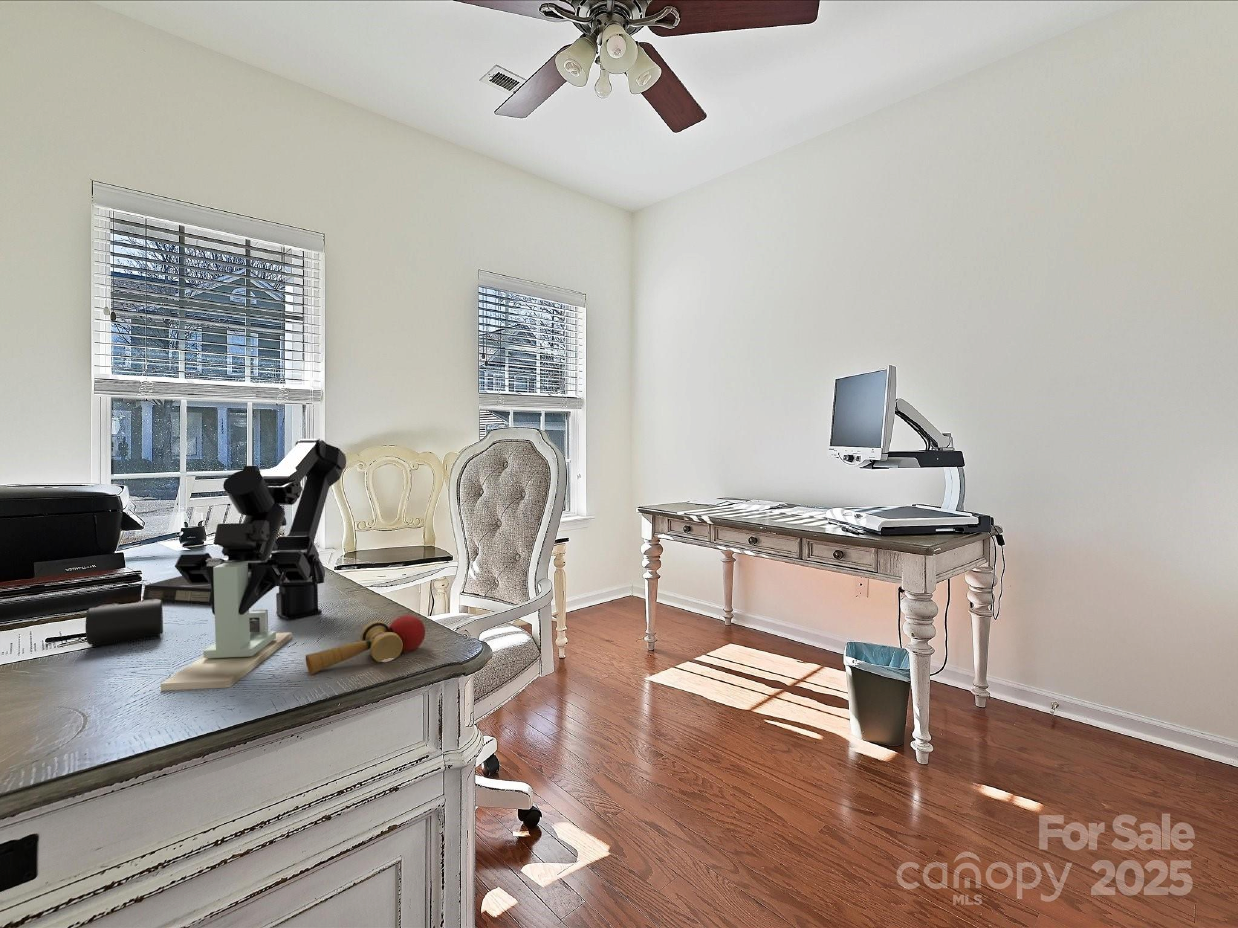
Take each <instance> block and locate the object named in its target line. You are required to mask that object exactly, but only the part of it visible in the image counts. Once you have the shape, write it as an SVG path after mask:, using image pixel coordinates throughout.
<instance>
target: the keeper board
mask: <svg viewBox="0 0 1238 928" xmlns="http://www.w3.org/2000/svg"><path fill="white" fill-rule="evenodd" d="M268 610H269V609H253V610H249V612H257V611H267V623H268V624H269V618H268V617H269V614H268ZM249 626H250V632H260V620H259V617H256V618H249ZM292 637H293V636H292V632H291V631H290V632H276V638H275V639H274V640H273V641H271V642H270V643H269V644H267V645H266V646H265V647H263V648H262V649H261V650H259V651H258V652H257V653H255V654H254V655H253V656H245V657H222V658H204V655H202V656H201V657H200V658H198V659H197V660H195V661H193V662H192V663H190V664H189V665H187V666H186V667H184V668H183V669H181V670H180V671H178V672H177V673H175V674H174V675H172V676H170V677H169V678H167V679H166V680H164V681H163V682H161V683H160V691H161V692H162V691H163V692H164V691H165V692H166V691H180V690H181V691H182V690H202V689H203V690H204V689H205V690H206V689H223V688H224V689H225V688H231V687H232V686H233V685H235V684H236V683H238V681H240V680H241V679H242V678H244V677H245V676H246V675H247V674H248V673H250V672H252V670H254V669H255V668H256V667H257V666H258V665H259V664H261V663H262V662H263V661H265V660H266V659H267V658H268V657H269V656H271V655H272V654H273V653H275V652H276V651H277V650H278V649H280V648H281V647H282V646H283V645H285V644H286V643H288V641H290V640H291V639H292Z"/></svg>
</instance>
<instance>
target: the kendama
mask: <svg viewBox="0 0 1238 928" xmlns="http://www.w3.org/2000/svg"><path fill="white" fill-rule="evenodd" d="M425 627H426V626H425V625H424V623H423V621H422V620H421V619H420V618H419V617H417V616H415V615H413V614H411V615H410V614H404V615H401V616H398V617H397V618H396V619H394V620H393V621H392V622H391V623H390V624H389V626H388V625H387V624H386V623H385V622H384V621H381V620H373V621H370V622H369V623H367V624H366V625H365V626H364V627H363V628H362V629H361V632H360V640H361V641H360V640H359V641H356V642H350V643H347V644H343V645H340V646H336V647H332V648H329V649H325V650H321V651H318V652H313V653H309V654H306V655H305V665H306V667H307V670H308V673H309V674H310V675H315V674H316V673H319V672H320V671H322V670H325V669H328V668H331V667H333V666H334V665H338V664H340V663H342V662H345V661H347V660H350V659H352V658H355V657H356V656H359V655H361V654H362V653H365V652H366V651H368V650H369V651H370V655H371V657H372V658H373V659H374V660H375V661H376V662H377V663H380V661H382V660H384V659H388V658H396V657H397V658H398V657H400V655H401V653H408V652H407V651H410V652H412V651H411V650H413V651H414V649H415V650H417V649H418V648H419V647H420V646H421V645H422V643H423V642H424V640H425V636H426V628H425ZM397 658H396V659H397Z"/></svg>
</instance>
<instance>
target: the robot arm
mask: <svg viewBox="0 0 1238 928" xmlns="http://www.w3.org/2000/svg"><path fill="white" fill-rule="evenodd" d="M345 454H346V453H344V452H343V451H342V450H341V449H340V448H338V447H336V446H334V445H331V444H329V443H327V442H325V440H323V439H320V438H301V439H298V440H296V442H295V445H294V447H293V448H292V449H291V451H289V453H288V454H287V455H286V456H285V457H284V458H283V459H282V460H281V461H280V462H279V463H278V465H277V466H275V467H272V468H269V469H264V470H263V471H261V470H260V468H259V465H244V466H243V469H242V470H239V471H236V472H234V473H232V474H231V475H229V476H228V477H227V478H226V479H224V481H223V484H222V486H223V490H224V491H225V493H226V495H227V496H228V498H229V500H230V501H231V503H232V504H233V506H234V507H235V510H236V511H237V513H239V514H240V515H242V516H244V520H243V521H242V522H239V523H237V522H236V523H235V522H233V523H230V522H229V523H227V522H226V523H218V524H217V525H216V530H215V534H214V538H213V545H214V546H217V545H218V546H219V547H222V550H221V554H222V555H223V556H224V557H227V559H223V558H221V557H212V556H211V555H210V553H209V552H187V553H186V552H185V553H182V554H180V555H179V557H178V558H177V561H176V563H175V565H174V568H175V569H176V570H177V571H178V572H179V574H180V576H183V577H184V578H185V579H186V581H187V582H188V583H190V584H193V585H203V584H211V592H212V605H211V613H212V615H213V616H215V606H214V573H213V567H215V566H218V565H220V564H223V563H234V562H248V573H251V578H250V581H249V584H248V586H247V589H246V591H245V593H244V596H243V598H242V601H241V603H240V607H239V611H238V612H239V614H240V615H243V614H244V613H246V612H247V611H248V610H249V611H250V609H251V608H252V607H253V606H254V605H255V604H256V603H257V602H259V600H261V599H262V598H263V597H265V595H266V594H268V593H269V592H270V591H272V590H273V589H274V588H276V587H278V592H276V593H275V600H276V601H275V602H276V603H275V604H276V612H275V614H276V615H278V616H280V617H282V618H284V619H286V620H293V619H299V618H304V617H309V616H312V615H317V614H321V613H322V612H323V610H322V609H321V608H319V585H320V584H324V583H325V577H326V568H325V567H324V565H323V563H322V561H321V559H320V553H319V552H318V549H317V546H316V545H315V539H316V536H317V532H318V529H319V525H320V521H321V518H322V515H323V512H324V508H325V504H326V500H327V497H328V493H329V489H330V487H331V486H333V485H335V484H336V482H338V481H339V480H340V479H341V477H342V474H343V472H344V470H345V469H346V467H347V457H346V455H345ZM305 477H306V478H305ZM304 478H305V483H304V485H303V487H302V483H301V482H302V480H304ZM298 499H299V500H298ZM297 501H298V504H297V508H296V511H295V514H294V517H293V520H292V524H291V526H290V530H289V533H288V534H287V535H286V536H278V535H279V533H280V530H281V528H282V527H286V526H287V525H288V524H287V519H286V512H285V510H284V509H283V507H282V506H291V505H292V506H294V504H296V503H297Z"/></svg>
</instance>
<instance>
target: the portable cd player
mask: <svg viewBox="0 0 1238 928" xmlns="http://www.w3.org/2000/svg"><path fill="white" fill-rule="evenodd" d="M250 578H251V573H248V584H249V581H250ZM143 588H144V589H143V595H142V600H151V599H152V598H153V599H159V600H162V604H164V603H165V604H178V605H180V604H181V605H196V606H197V605H198V606H199V605H200V606H212V592H211V584H203V585H193V584H190V583H188V582H187V581H186V579H185V578H184V577H183V576H182V575H180V576H176V577H172V578H167V579H164V580H161V581H157V582H153V583H148V584H145V585H144V587H143Z"/></svg>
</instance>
